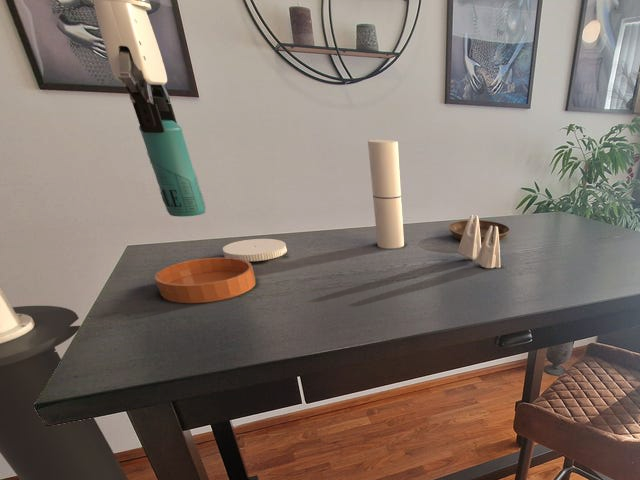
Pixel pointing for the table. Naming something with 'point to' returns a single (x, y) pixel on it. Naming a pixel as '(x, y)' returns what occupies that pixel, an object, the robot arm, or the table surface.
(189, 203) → the beverage bottle
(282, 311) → the table surface
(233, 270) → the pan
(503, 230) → the plant saucer
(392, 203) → the cylindrical container
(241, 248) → the plastic lid
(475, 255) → the shaker set
